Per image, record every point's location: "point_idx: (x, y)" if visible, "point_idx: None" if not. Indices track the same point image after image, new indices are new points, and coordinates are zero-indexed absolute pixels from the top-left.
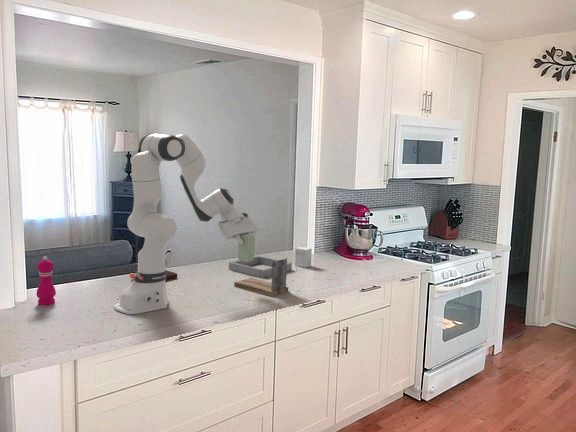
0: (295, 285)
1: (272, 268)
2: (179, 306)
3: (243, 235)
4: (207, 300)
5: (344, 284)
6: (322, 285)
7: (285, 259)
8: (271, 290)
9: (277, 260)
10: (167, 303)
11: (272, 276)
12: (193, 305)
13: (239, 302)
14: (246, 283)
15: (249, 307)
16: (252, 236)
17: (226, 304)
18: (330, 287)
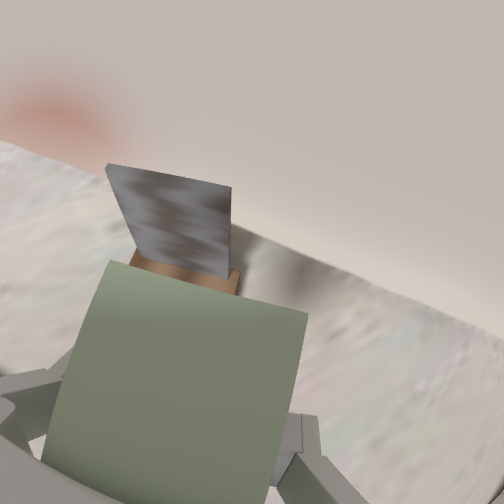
0: (59, 258)
1: (229, 218)
2: (492, 467)
3: (264, 458)
4: (416, 457)
5: (29, 152)
6: (43, 189)
7: (120, 167)
8: (228, 278)
9: (179, 183)
10: (497, 498)
11: (229, 242)
12: (471, 447)
13: (374, 351)
14: None
15: (393, 293)
16: (171, 286)
17: (416, 374)
18: (60, 166)
